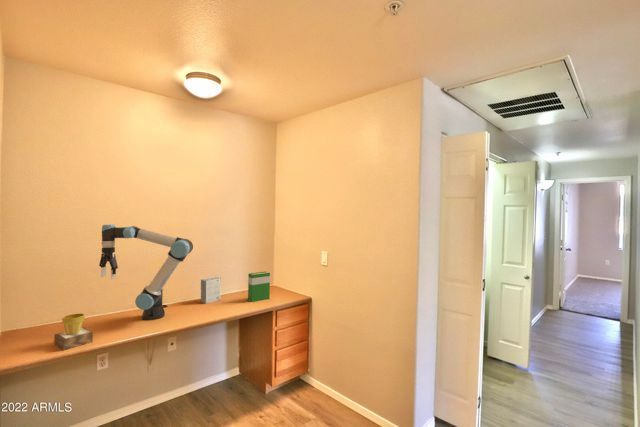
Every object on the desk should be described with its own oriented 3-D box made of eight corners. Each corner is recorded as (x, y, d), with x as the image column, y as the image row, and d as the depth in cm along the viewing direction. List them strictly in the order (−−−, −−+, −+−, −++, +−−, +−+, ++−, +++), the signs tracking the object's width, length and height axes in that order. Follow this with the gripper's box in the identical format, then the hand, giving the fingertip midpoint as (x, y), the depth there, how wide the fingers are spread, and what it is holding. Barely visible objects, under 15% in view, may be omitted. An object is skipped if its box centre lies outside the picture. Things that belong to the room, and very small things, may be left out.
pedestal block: (82, 336, 193) (82, 326, 193) (92, 342, 186) (92, 331, 186) (54, 344, 181) (54, 333, 181) (63, 350, 174) (63, 339, 174)
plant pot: (72, 328, 189) (72, 312, 189) (88, 329, 189) (88, 313, 189) (57, 335, 179) (57, 318, 179) (74, 336, 178) (74, 319, 178)
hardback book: (265, 297, 290) (265, 271, 290) (269, 298, 284) (269, 272, 284) (248, 300, 279) (248, 273, 279) (251, 302, 273) (252, 274, 273)
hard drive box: (215, 298, 283) (215, 276, 283) (220, 299, 279) (221, 277, 279) (200, 302, 270) (200, 279, 270) (205, 303, 266) (205, 280, 266)
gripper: (93, 246, 217) (93, 276, 217) (111, 248, 204) (111, 280, 204) (105, 245, 224) (105, 274, 224) (123, 247, 211) (123, 278, 211)
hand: (108, 277), depth 214 cm, fingers open, 13 cm apart
